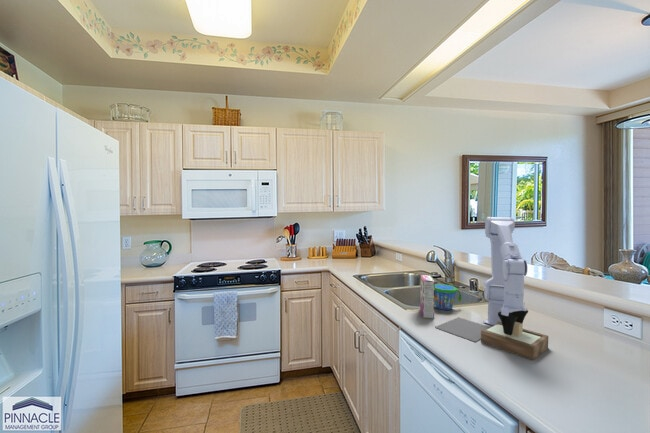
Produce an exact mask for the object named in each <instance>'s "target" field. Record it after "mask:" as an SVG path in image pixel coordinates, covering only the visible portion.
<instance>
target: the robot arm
mask: <svg viewBox="0 0 650 433" xmlns="http://www.w3.org/2000/svg"><path fill="white" fill-rule="evenodd" d="M515 226H516V223H515V219H514V217H513V216H509V217H506V216H502V217H501V216H500V217H499V216H495V217H494V216H486V218H485V222H484V234H485V237H486V238H488V239H489V241H490V255H491V256H490V257H491V258H490V260H491V261H490V262H491V277H490V278H489V279H487V280H486V281H485V282H484V288H483V296H484V299H485V300H486V301H487V319H485V320H483V323H484V324H488V325H490V326H492V327H493V326H495V325H497V322H498V321H499V322H502V325H503V330H504V333H505V334H507V335H512V333H513V327H514V323H515V322H519V323H522V324H523V323H524V320H525V319H526V318H525V317H526V316H527V315H528V313H529V310H528V308H527V307H525V302H524V293H525V276H526V275H527V274H528V263H527V260H526V258H524V257H523V256H521V253H520V249H519V247H518V244H516V243H514V240H513V236H512V234H513V233H514V230H515V228H516V227H515ZM523 325H524V324H523Z"/></svg>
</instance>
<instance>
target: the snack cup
mask: <svg viewBox="0 0 650 433" xmlns="http://www.w3.org/2000/svg"><path fill="white" fill-rule="evenodd" d="M457 292H458V294H459V295H458V302H461V301H462V298H463V297H462V293H461V291H460V289H458V288H457V287H455V286H453V285H450V284H449V285H448V284H442V283H438V284H435V286H434V307H435V308H437V309H438V310H439V309H440V310H444V311H448V310H449V311H451V310H452V309H453V307H454V301H455V296H456V293H457Z"/></svg>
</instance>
